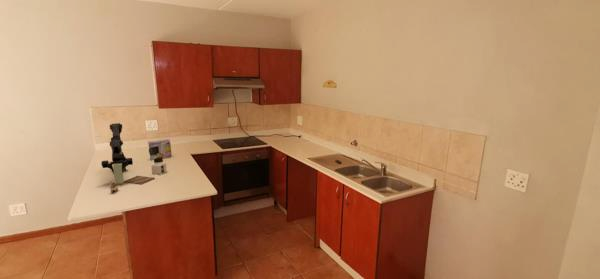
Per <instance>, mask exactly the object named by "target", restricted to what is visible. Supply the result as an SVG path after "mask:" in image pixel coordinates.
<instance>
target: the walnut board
mask: <svg viewBox="0 0 600 279" xmlns="http://www.w3.org/2000/svg"><path fill="white" fill-rule="evenodd" d="M155 179H156V178H155V177H152V176H150V177H149V176H143V175H136V176H133V177H131V178H128V179H126V180H123V182H122V183H126V184H132V185H133V184H134V185H144V184H147V183H149V182H150V181H153V180H155Z"/></svg>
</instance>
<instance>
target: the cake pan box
mask: <svg viewBox="0 0 600 279" xmlns="http://www.w3.org/2000/svg"><path fill="white" fill-rule="evenodd" d="M147 144H148V153H149V158H150V161H154V158H155V157H162V158H163V159H167V158H172V157H173V155H172V154H173V153H172V145H171V144H172V143H171V139H170V138H163V139H157V140H150V141H148V143H147Z"/></svg>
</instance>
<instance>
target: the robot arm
mask: <svg viewBox="0 0 600 279" xmlns="http://www.w3.org/2000/svg"><path fill="white" fill-rule="evenodd" d="M122 129H123V123H119V122H118V123H111V124H109V130H111V133H112V137H111V138H110V141H109V147H110V148H111V151H112V152H111V161H109V160H102V161H101V167H102V169H105V168H108V169H110V170H111V172H112V174H113V175H114V170H113V164H114V163H122V173H123V174H124V172H127V171H128V169H127V167H128V166H131V165H134V164H133V162H134V161H133V158H132V157H126V156H125V154H124V152H123V150H122V146H123V145H124V142H123V140H122V138H121V134H122V132H123V130H122Z"/></svg>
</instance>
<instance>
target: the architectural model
mask: <svg viewBox="0 0 600 279" xmlns="http://www.w3.org/2000/svg"><path fill="white" fill-rule="evenodd" d="M120 186H121V185H118V183H115V180H112V181H110V182H109V190H110V194H112V193H113V192H117V191H118V190H119V187H120Z"/></svg>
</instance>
